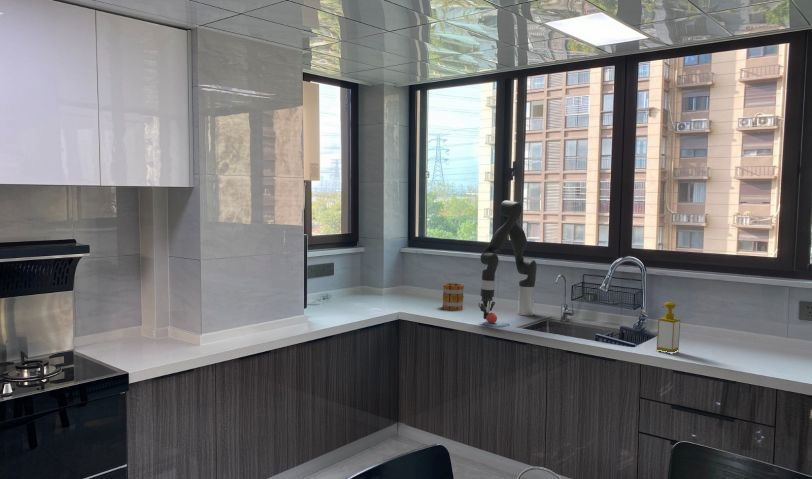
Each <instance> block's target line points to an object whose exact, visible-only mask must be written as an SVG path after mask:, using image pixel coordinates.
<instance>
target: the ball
mask: <svg viewBox="0 0 812 479" xmlns="http://www.w3.org/2000/svg"><path fill="white" fill-rule="evenodd" d="M485 320H486V322H488V323H495V322H496V321H498V315H497V314H496V313H494V312H489V314H488V315H487V316H486V319H485Z"/></svg>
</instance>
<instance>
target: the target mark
mask: <svg viewBox="0 0 812 479" xmlns="http://www.w3.org/2000/svg"><path fill="white" fill-rule="evenodd" d="M483 324H484V325H485V326H489V327H498V328H503V327H505V328H506V327H509V326H510V323H509V322H504V321H499V320H497V321H496V322H495V323H488V322H487V321H484V322H483Z"/></svg>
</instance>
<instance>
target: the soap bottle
mask: <svg viewBox="0 0 812 479" xmlns="http://www.w3.org/2000/svg"><path fill="white" fill-rule="evenodd" d="M676 306H677V303H675V302H672V301H667V302H664V304H663V306H661V308H662V309H663V308H666V309H667V312H665V316H662V317H659V318H657V319H658V321H657V322H658V323H657V338H656V339H657V340H656V351H657V350H662V351H667V352H675V351H677V350H678V351H679V350H680V349H679V347H680V334H681V333H680V331H681V330H680V329H681V318H675V313H673V309H675V308H676Z"/></svg>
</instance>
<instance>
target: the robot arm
mask: <svg viewBox="0 0 812 479" xmlns="http://www.w3.org/2000/svg"><path fill="white" fill-rule="evenodd" d="M522 212H523V206H522V204H521V203H520V202H518V201H512V200H503V201H502V202H501V204H500V214H501V216H502V219H503V222H504V223H503V224H502V225H501V226H500V227H499V228H498V229H496V231H495V232H494V234H493V235H492V236H491V237H492V238H491V239H490V242H489V243H488V245H487V246H486V247H485V248H484V250H483V251H482V252H481V255H480V262H481V264H483V265H485V266H487V268H486V269H483V270H482V272H481V273H482V274H481V282H480V283H481V284H480V297H481V299H480V300H481V301H480V302H478V307H479V310H480V311H481V312H483V319H484V320H486V316H487V315H488V314H489V313H491V312H492V310H493V308H494V307H495V305H496V302H495V301H494V300H493V298H494V297H495V286H496V284H495V282H496V281H495V278H496V271H497V268H498V266H499V265H498V264H499V256H498V255H497V252H500V251H501V249H502V248H503V244H504V243H505V240H506V238H507V237H509V240H510V241H509V242H510V245H511V247H512V251H513V254H514V255H513V256H514V259H515V266H516V270H517V273H518V274H520V275H526V278H525V279H522V280H519V282H518V301H517V304H518V305H517V314H518V315H519V316H526V317H527V316H529V317H530V316H533V315H534V314H535V302H536V301H535V287H536V286H535V285H536V279H537V278H536V277H537V267H538V265H537V261H536V260H534V259H529V258H528V259H525V258H524V256H523V254H524V251H525V249H526V247H527V245H528V240H527V236H526V233H525V230H524V229H523V228H522V226H521V225H520V224H519V223H518V222H517V221H518V219H519V218H520V216H521V214H522Z"/></svg>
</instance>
